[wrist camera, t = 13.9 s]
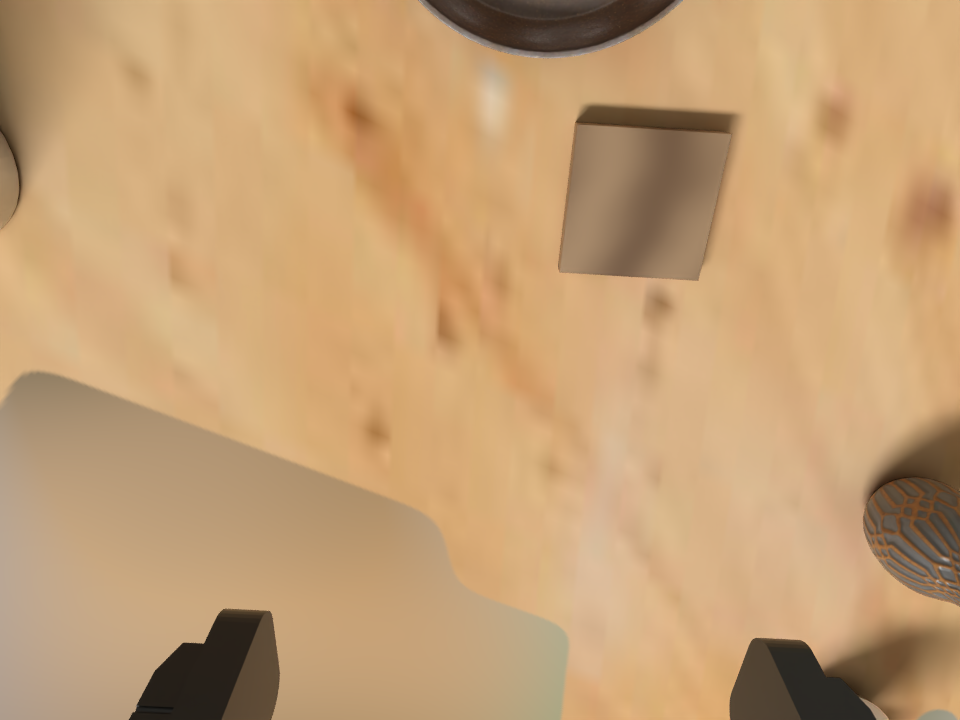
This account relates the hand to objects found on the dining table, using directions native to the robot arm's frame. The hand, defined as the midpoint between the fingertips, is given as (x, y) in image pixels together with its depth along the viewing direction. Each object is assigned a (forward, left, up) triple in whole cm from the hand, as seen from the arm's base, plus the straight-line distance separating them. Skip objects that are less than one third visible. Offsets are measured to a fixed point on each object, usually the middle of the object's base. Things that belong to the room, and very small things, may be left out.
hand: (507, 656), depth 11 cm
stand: (+7, +4, -28) cm, 29 cm away
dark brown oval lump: (+34, -8, -28) cm, 45 cm away
